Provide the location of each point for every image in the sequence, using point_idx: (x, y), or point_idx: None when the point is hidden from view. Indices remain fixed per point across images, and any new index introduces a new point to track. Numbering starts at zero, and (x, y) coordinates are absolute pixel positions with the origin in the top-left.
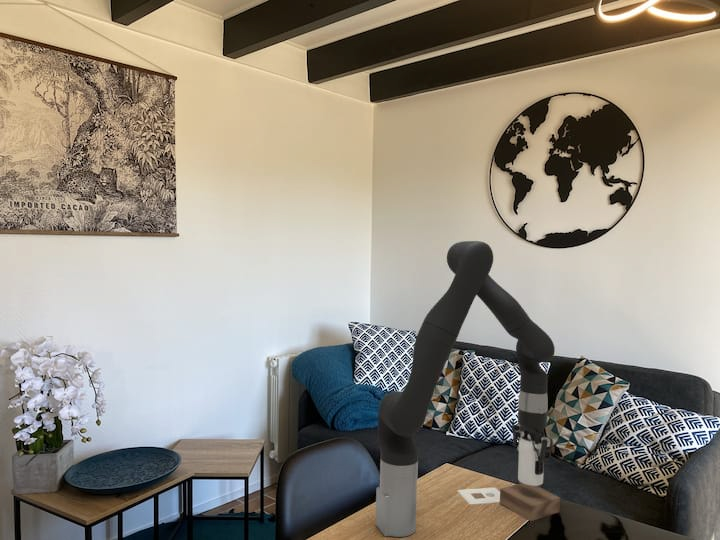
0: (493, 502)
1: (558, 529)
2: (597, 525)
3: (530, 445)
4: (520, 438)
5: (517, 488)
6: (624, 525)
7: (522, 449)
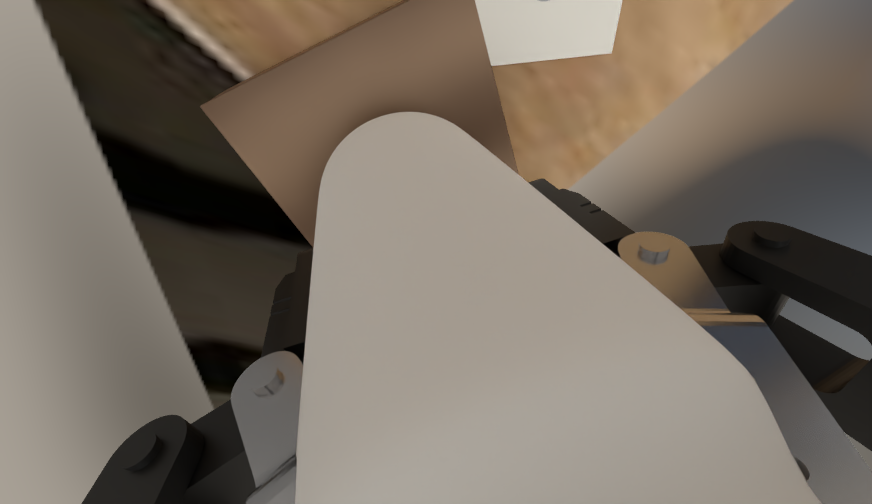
0: None
1: (165, 196)
2: (250, 339)
3: None
4: (815, 435)
5: (460, 116)
6: None
7: (456, 296)
